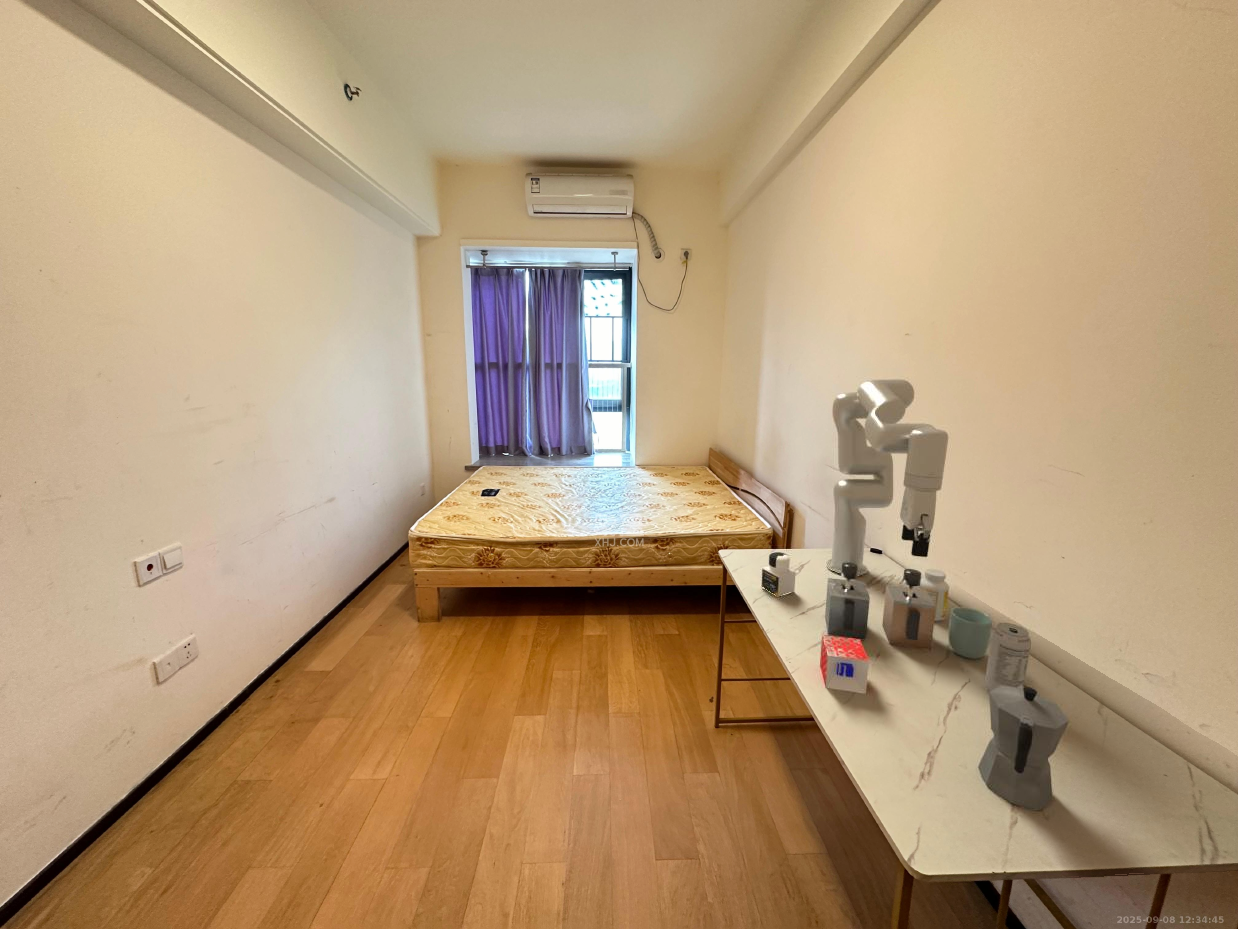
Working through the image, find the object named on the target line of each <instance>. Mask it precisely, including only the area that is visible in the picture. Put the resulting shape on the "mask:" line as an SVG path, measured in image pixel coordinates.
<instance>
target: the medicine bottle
mask: <svg viewBox="0 0 1238 929" xmlns="http://www.w3.org/2000/svg"><path fill="white" fill-rule="evenodd" d="M790 560H791V557H790V555H788V554H786V553H784V552H779V551H777V552H776V551H775V552H772V553H769V556H768V566H763V567H762V569H761V570H762V571H761V588H762V587H764V588H765V589H767V590H768V591H770V592H771V593H773V594H775V595H776V596H781V595H783V594H786V593H789V592H793V591H795V588H796V574H797V572H796V571H795V570H793V569H791V568H790V562H791V561H790ZM795 592H796V591H795ZM771 593H770V594H771ZM776 596H775V597H776ZM781 597H782V596H781Z"/></svg>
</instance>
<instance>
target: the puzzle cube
mask: <svg viewBox="0 0 1238 929" xmlns="http://www.w3.org/2000/svg"><path fill="white" fill-rule="evenodd" d="M820 646H821V647H820V658H819V660H820V661H819V667H820V671H821V675H822V678H823V683H824V686H825V689H827V688H828V689H834V690H840V691H846V692H847V691H848V692H853V693H860V694H865V695H866V694H867V693H866V692H867V686H868V675H869V674H868V673H869V664H870V661H869V660H870V659H869V657H868V656H867V652H866V651H865V647H864V645H863V644H862V641H861V640H860V639H854V638H847V637H841V636H834V635H828V634H827V635H826V634H822V635H821V644H820Z"/></svg>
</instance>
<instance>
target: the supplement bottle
mask: <svg viewBox="0 0 1238 929" xmlns="http://www.w3.org/2000/svg"><path fill="white" fill-rule="evenodd" d="M946 577H947V574H946V572H944V571H942V570H939V569H935V568H928V569H925V570H924V577H921V581H920V586H918V589H926V591H927V592H928V594H929V596H930V597H931V599H932V600H933V602H934V603H935V605H936V612H935V620H934V622H939V621H944V620H945V619H946V613H947V606H948V597H949V591H950V586H949V584H948V583H947V582H946V581H945V580H946Z"/></svg>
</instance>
